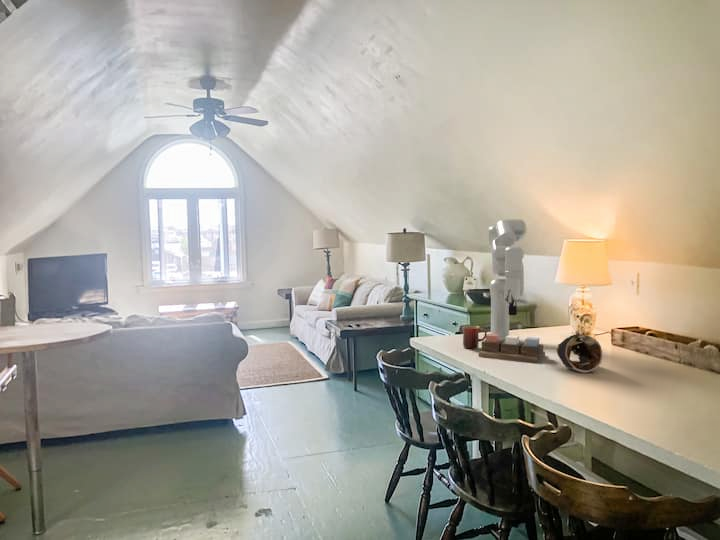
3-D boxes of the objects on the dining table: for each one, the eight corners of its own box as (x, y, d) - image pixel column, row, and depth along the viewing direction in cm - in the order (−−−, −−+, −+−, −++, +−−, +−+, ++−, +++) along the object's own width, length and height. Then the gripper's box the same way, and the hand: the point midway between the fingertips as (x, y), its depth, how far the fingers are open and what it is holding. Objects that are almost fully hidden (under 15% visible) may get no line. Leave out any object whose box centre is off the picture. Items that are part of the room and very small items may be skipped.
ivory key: (508, 343, 254) (508, 335, 254) (519, 344, 252) (519, 336, 251) (505, 345, 250) (505, 337, 250) (516, 346, 247) (516, 338, 247)
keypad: (489, 349, 265) (489, 337, 264) (545, 355, 251) (545, 342, 251) (478, 356, 251) (478, 343, 250) (537, 363, 238) (537, 349, 237)
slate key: (527, 345, 250) (528, 337, 249) (539, 347, 247) (539, 338, 247) (525, 347, 245) (525, 338, 245) (536, 349, 243) (536, 340, 242)
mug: (462, 349, 266) (462, 328, 265) (460, 345, 274) (461, 325, 274) (487, 350, 265) (487, 328, 264) (485, 346, 273) (485, 325, 273)
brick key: (489, 341, 259) (489, 333, 258) (499, 343, 256) (499, 334, 256) (485, 343, 254) (485, 335, 254) (496, 344, 252) (496, 336, 252)
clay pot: (580, 332, 246) (600, 331, 221) (586, 366, 244) (607, 370, 219) (546, 336, 246) (562, 336, 222) (552, 370, 244) (569, 374, 220)
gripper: (509, 273, 257) (508, 312, 258) (500, 275, 244) (499, 316, 245) (525, 273, 253) (525, 313, 254) (517, 276, 240) (516, 317, 241)
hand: (512, 314), depth 250 cm, fingers closed
